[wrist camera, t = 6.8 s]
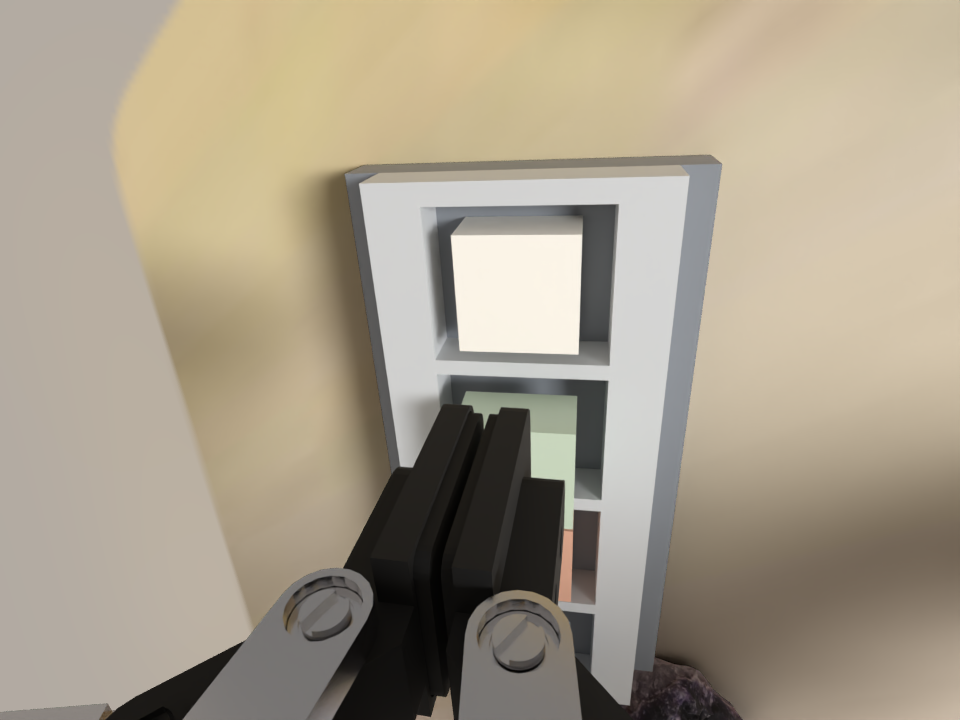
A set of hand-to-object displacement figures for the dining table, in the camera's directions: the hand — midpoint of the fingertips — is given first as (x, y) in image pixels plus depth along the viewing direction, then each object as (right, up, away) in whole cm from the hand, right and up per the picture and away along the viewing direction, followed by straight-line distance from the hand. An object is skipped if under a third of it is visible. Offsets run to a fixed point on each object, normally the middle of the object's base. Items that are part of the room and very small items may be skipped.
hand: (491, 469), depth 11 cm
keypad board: (+2, -2, +16) cm, 16 cm away
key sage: (+1, -1, +11) cm, 11 cm away
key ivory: (+1, +5, +10) cm, 12 cm away
